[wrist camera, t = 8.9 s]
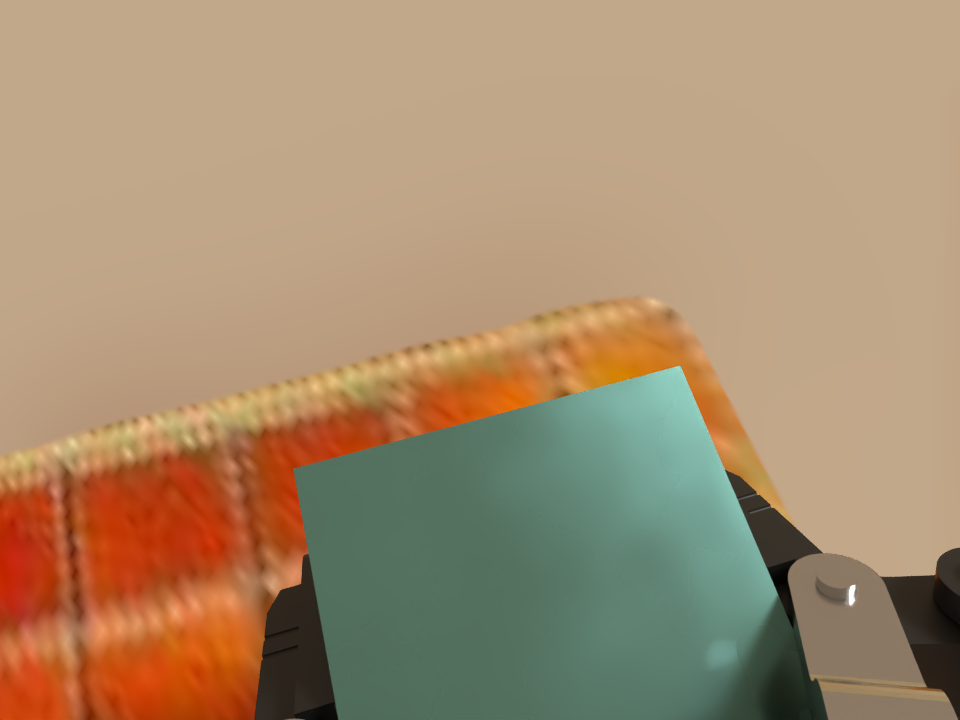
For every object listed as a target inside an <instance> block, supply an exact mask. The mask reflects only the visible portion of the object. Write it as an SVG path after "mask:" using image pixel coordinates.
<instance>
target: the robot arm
mask: <svg viewBox="0 0 960 720" xmlns="http://www.w3.org/2000/svg"><path fill="white" fill-rule="evenodd" d="M725 472H726V474H727V476H728V479H729V481H730V483H731V486H732V488H733V490H734V493H735V495H736V497H737V500H738V502H739V504H740V507H741V509H742V511H743V514H744V516H745V518H746V521H747V523H748V525H749V528H750V530H751V533H752V535H753V537H754V540H755V542H756V544H757V547H758V549H759V551H760V554H761V556H762V558H763V561H764V563H765V565H766V568H767V570H768V572H769V575H770V577H771V579H772V582H773V584H774V586H775V589H776V591H777V593H778V596H779V598H780V600H781V603H782V605H783V607H784V610H785V612H786V614H787V617H788V619H789V621H790V624H791V626H792V628H793V631H794V636H795V641H796V645H797V650H798V654H799V659H800V664H801V668H802V673H803V678H804V682H805V687H806V692H807V696H808V701H809V708H810V715H811V720H960V548H955V549H952V550H950V551H948V552H945V553H944V554H943V555H941V556H940V558H939V559H938V561H937V567H936V574H935V575H934V576H933V575H931V576H906V577H880V576H879V575H878V574H877V573H876V572H875V571H874V570H873V569H871V568H870V567H868V566H867V565H865V564H863V563H861V562H860V561H857V560H855V559H852V558H850V557H846V556H842V555H837V554H827V553H825V554H824V553H822V552H821V551H820V550H819V549H818V548H817V547H816V546H815V545H814V544H813V543H812V542H810V541H809V540H808V539H807V538H806V537H805V536H804V535H803V534H802V533H801V532H800V531H798V530H797V529H796V528H795V527H794V526H793V525H792V524H791V523H790V522H789V521H788V520H786V519H785V518H784V517H783V516H782V515H781V514H780V513H779V512H778V511H777V510H776V509H774V508H771V506H770V504H769V503H768V502H767V501H766V500H765V499H764V498H762V497H761V496H760V495H757V493H756V491H755V490H754V489H753V488H752V487H750V486H749V485H748V484H747V483H746V482H745V481H744V480H743V479H742V478H741V477H740V476H737V475H735V474H733V473H731V472H728V471H726V470H725ZM264 637H265V641H264V645H263V653H262V657H263V660H262V661H261V670H260V678H259V686H258V695H257V703H256V711H255V720H338V715H337V709H336V703H335V698H334V692H333V687H332V681H331V675H330V670H329V664H328V659H327V653H326V648H325V642H324V636H323V631H322V625H321V620H320V614H319V608H318V603H317V597H316V592H315V586H314V581H313V575H312V569H311V564H310V558H309V554H306V555H304V556H303V563H302V581H301V584H300V585H297V586H293V587H290V588H286V589H283V590H281V591H280V592H279V594H278V596H277V598H276V599H275V601H274V603H273V604H272V606H271V608H270V609H269V611H268V613H267V620H266V628H265V636H264Z"/></svg>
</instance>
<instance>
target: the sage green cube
mask: <svg viewBox="0 0 960 720" xmlns="http://www.w3.org/2000/svg"><path fill="white" fill-rule="evenodd" d="M294 474H295V480H296V486H297V491H298V497H299V502H300V508H301V514H302V519H303V525H304V530H305V536H306V541H307V547H308V553H309V558H310V564H311V569H312V575H313V581H314V586H315V592H316V597H317V603H318V608H319V614H320V620H321V625H322V631H323V636H324V642H325V648H326V653H327V659H328V664H329V670H330V675H331V681H332V687H333V692H334V698H335V703H336V709H337V715H338V720H811V715H810V708H809V701H808V696H807V692H806V687H805V682H804V678H803V673H802V668H801V664H800V659H799V654H798V650H797V645H796V641H795V636H794V631H793V628H792V626H791V624H790V621H789V619H788V617H787V614H786V612H785V610H784V607H783V605H782V603H781V600H780V598H779V596H778V593H777V591H776V589H775V586H774V584H773V582H772V579H771V577H770V575H769V572H768V570H767V568H766V565H765V563H764V561H763V558H762V556H761V554H760V551H759V549H758V547H757V544H756V542H755V540H754V537H753V535H752V533H751V530H750V528H749V525H748V523H747V521H746V518H745V516H744V514H743V511H742V509H741V507H740V504H739V502H738V500H737V497H736V495H735V493H734V490H733V488H732V486H731V483H730V481H729V479H728V476H727V474H726V472H725V469H724V467H723V465H722V462H721V460H720V458H719V455H718V453H717V451H716V448H715V446H714V444H713V441H712V439H711V437H710V434H709V432H708V430H707V427H706V425H705V423H704V420H703V418H702V416H701V413H700V411H699V409H698V406H697V404H696V402H695V399H694V397H693V395H692V392H691V390H690V387H689V385H688V383H687V380H686V378H685V376H684V373H683V371H682V369H681V366H678V367H674V368H670V369H667V370H663V371H659V372H655V373H652V374H648V375H644V376H640V377H637V378H633V379H629V380H625V381H622V382H618V383H614V384H610V385H607V386H603V387H599V388H595V389H592V390H588V391H584V392H580V393H577V394H573V395H569V396H565V397H561V398H558V399H554V400H550V401H546V402H543V403H539V404H535V405H531V406H528V407H524V408H520V409H516V410H513V411H509V412H505V413H501V414H498V415H494V416H490V417H486V418H483V419H479V420H475V421H471V422H468V423H464V424H460V425H456V426H453V427H449V428H445V429H441V430H438V431H434V432H430V433H426V434H422V435H419V436H415V437H411V438H407V439H404V440H400V441H396V442H392V443H389V444H385V445H381V446H377V447H374V448H370V449H366V450H362V451H359V452H355V453H351V454H347V455H344V456H340V457H336V458H332V459H329V460H325V461H321V462H317V463H314V464H310V465H306V466H302V467H299V468H295V469H294Z"/></svg>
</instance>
